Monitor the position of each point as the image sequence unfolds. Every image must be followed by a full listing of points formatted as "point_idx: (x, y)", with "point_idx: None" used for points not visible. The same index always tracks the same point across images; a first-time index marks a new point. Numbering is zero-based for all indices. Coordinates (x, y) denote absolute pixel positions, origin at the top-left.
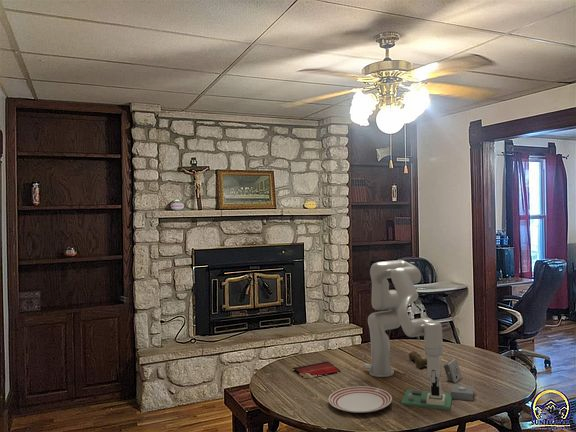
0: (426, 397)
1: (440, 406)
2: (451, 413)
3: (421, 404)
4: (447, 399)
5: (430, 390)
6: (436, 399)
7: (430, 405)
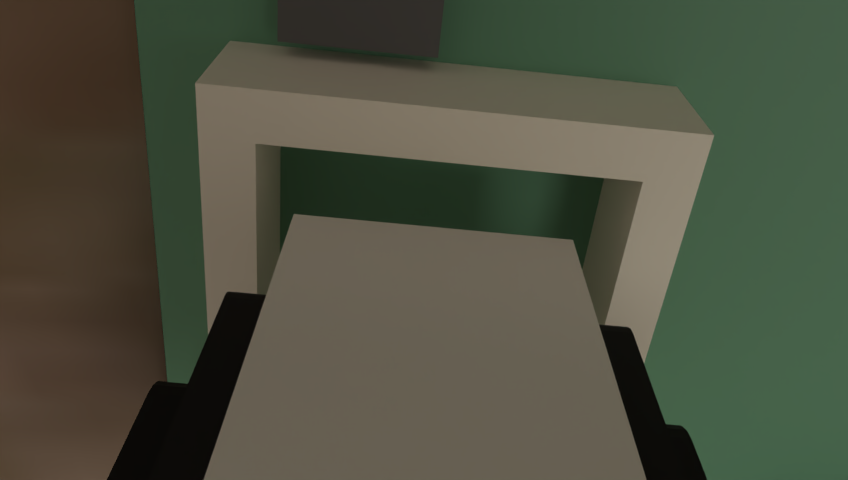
0: (680, 34)
1: (172, 328)
2: (50, 445)
3: None
4: None
5: (253, 345)
6: None
7: (148, 136)
